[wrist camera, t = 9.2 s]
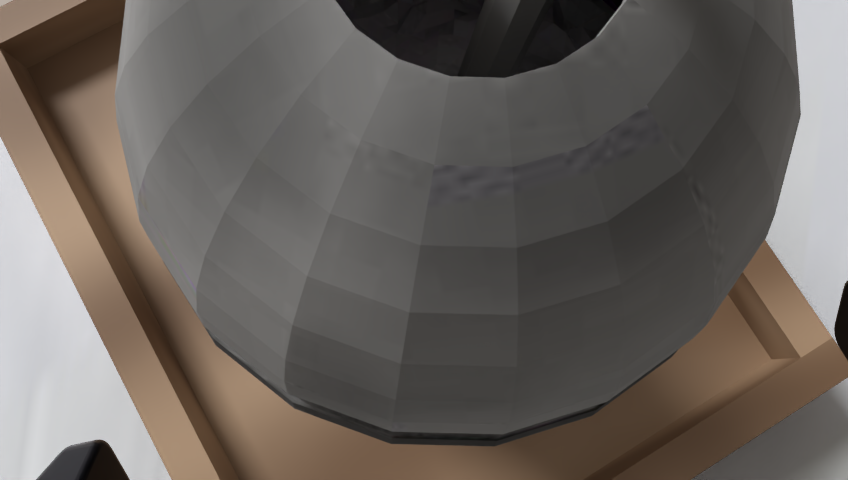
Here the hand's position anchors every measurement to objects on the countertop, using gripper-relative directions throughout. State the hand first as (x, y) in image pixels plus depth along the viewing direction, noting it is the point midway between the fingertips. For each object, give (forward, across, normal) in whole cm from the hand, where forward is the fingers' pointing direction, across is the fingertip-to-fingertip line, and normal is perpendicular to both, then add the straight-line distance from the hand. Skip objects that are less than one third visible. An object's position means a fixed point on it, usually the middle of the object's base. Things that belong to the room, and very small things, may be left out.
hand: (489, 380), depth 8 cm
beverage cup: (+10, 0, +6) cm, 11 cm away
